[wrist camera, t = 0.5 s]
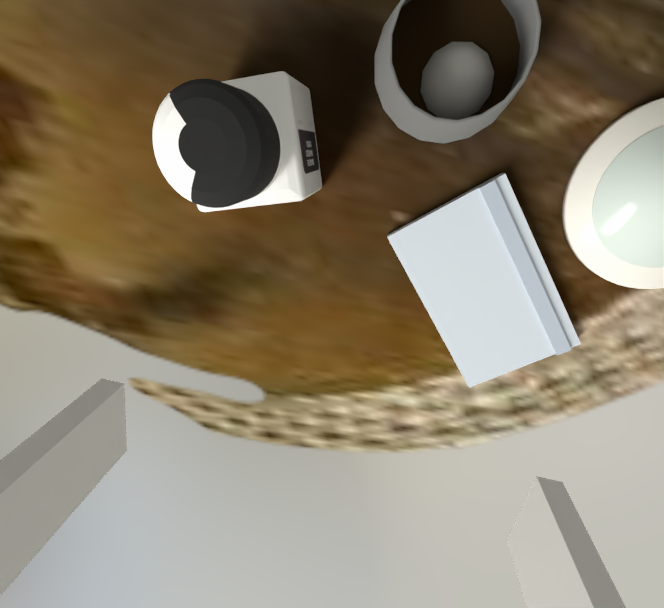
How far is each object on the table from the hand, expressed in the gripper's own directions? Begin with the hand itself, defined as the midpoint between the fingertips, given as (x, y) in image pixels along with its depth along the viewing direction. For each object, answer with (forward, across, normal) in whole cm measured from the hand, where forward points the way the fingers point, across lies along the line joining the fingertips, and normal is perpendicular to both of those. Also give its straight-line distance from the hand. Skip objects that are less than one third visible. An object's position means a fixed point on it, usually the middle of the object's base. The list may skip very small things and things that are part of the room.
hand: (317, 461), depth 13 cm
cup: (+25, +3, +15) cm, 29 cm away
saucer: (+25, +21, +9) cm, 34 cm away
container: (+25, -9, +8) cm, 28 cm away
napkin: (+25, +10, 0) cm, 27 cm away
